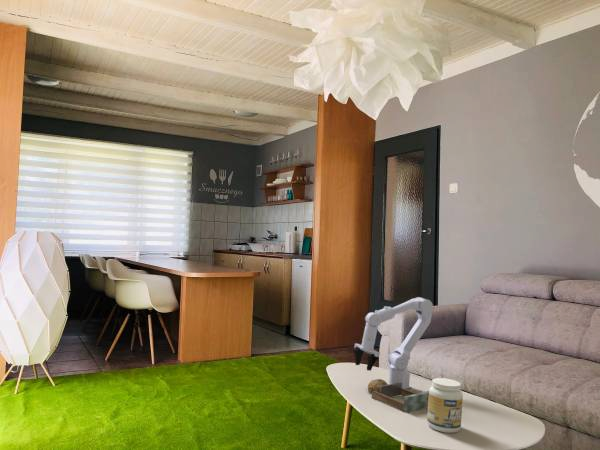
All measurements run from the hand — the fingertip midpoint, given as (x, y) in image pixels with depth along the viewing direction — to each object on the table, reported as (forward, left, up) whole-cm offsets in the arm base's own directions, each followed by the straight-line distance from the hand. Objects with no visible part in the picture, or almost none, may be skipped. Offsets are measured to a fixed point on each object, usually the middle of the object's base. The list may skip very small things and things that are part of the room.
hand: (363, 367), depth 226 cm
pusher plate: (-1, +17, -9) cm, 19 cm away
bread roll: (-1, +10, -9) cm, 13 cm away
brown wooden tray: (-1, +23, -9) cm, 24 cm away
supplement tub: (+6, +50, -9) cm, 51 cm away
